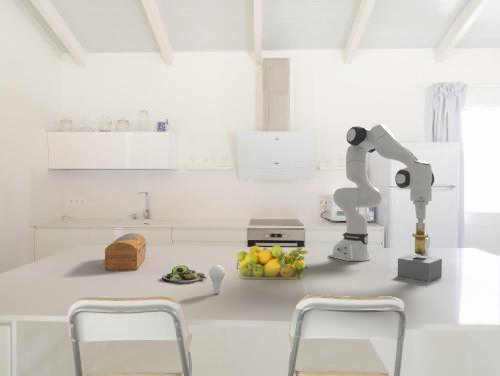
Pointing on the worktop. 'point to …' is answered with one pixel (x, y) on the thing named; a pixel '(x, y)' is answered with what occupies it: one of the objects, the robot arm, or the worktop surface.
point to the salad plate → (183, 275)
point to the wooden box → (125, 253)
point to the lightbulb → (216, 277)
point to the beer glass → (427, 247)
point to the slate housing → (419, 267)
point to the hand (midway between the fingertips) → (420, 227)
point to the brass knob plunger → (420, 239)
